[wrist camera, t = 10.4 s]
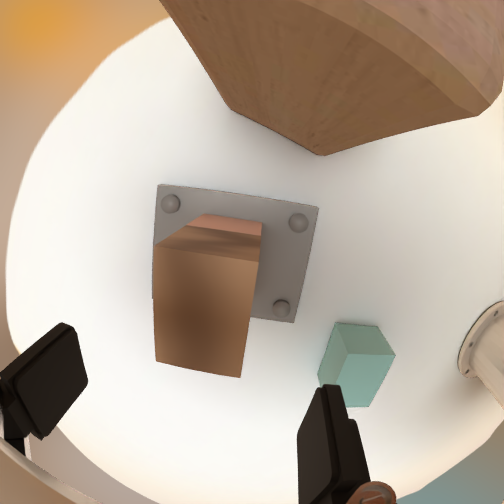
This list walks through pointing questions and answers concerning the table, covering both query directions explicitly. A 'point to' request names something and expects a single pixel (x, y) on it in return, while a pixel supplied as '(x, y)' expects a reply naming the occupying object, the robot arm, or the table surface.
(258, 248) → the walnut brick
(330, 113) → the block
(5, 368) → the robot arm
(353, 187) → the table surface
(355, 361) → the teal brick
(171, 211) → the baseplate
